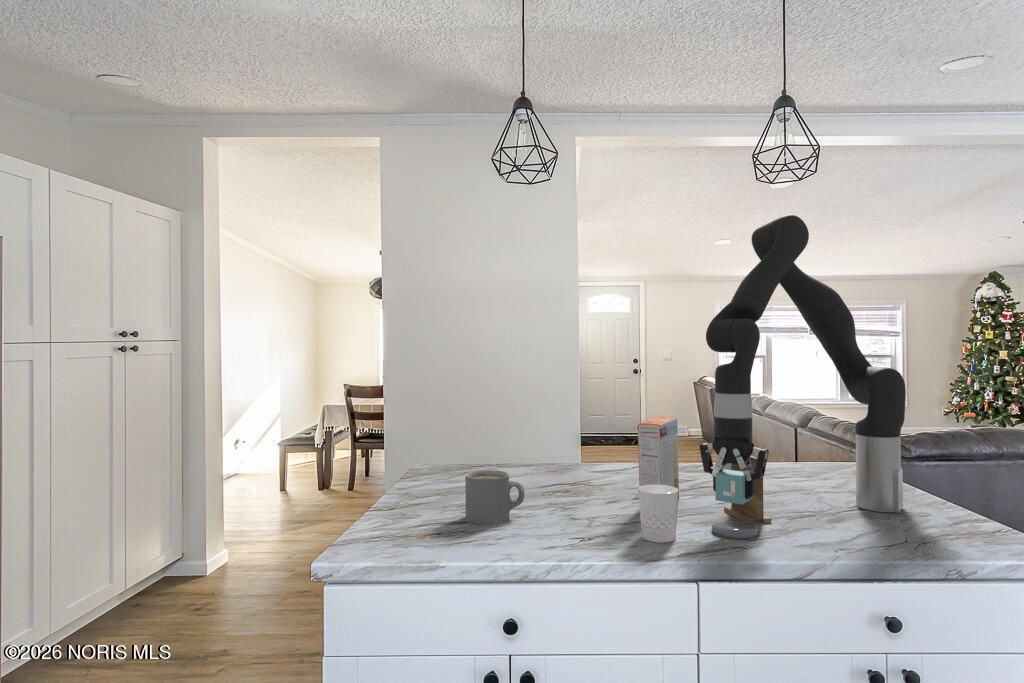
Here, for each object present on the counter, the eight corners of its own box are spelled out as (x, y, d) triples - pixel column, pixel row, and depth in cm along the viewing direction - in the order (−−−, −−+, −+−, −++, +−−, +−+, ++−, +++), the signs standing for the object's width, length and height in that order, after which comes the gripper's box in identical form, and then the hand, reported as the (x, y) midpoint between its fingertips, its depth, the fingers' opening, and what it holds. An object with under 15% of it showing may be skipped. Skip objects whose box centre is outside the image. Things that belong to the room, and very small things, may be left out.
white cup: (650, 529, 135) (649, 482, 135) (685, 536, 130) (684, 487, 130) (632, 539, 129) (631, 489, 129) (668, 546, 124) (667, 495, 124)
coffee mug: (463, 524, 140) (462, 479, 140) (468, 512, 150) (467, 470, 150) (523, 524, 139) (523, 479, 139) (525, 512, 149) (524, 469, 149)
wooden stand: (743, 509, 150) (743, 450, 150) (771, 522, 139) (770, 458, 139) (724, 511, 149) (723, 451, 149) (750, 524, 138) (749, 459, 138)
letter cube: (751, 499, 132) (751, 472, 132) (742, 504, 128) (741, 477, 128) (725, 495, 136) (725, 469, 136) (715, 500, 132) (715, 473, 132)
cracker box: (656, 498, 161) (655, 416, 161) (680, 501, 158) (679, 417, 158) (637, 511, 149) (636, 422, 149) (662, 514, 146) (661, 423, 146)
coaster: (763, 531, 133) (763, 526, 133) (749, 542, 126) (749, 537, 126) (721, 523, 138) (721, 519, 138) (705, 534, 131) (705, 529, 131)
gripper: (774, 415, 130) (774, 497, 130) (706, 410, 140) (707, 488, 140) (762, 419, 125) (763, 505, 125) (692, 414, 134) (693, 494, 134)
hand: (733, 495), depth 132 cm, fingers closed on letter cube, 5 cm apart
